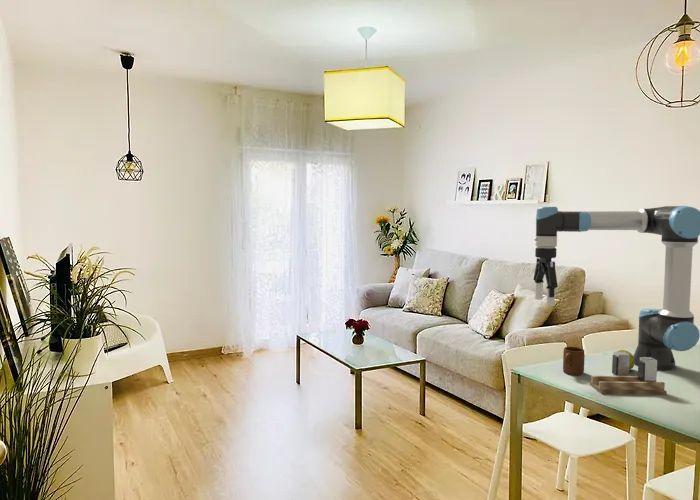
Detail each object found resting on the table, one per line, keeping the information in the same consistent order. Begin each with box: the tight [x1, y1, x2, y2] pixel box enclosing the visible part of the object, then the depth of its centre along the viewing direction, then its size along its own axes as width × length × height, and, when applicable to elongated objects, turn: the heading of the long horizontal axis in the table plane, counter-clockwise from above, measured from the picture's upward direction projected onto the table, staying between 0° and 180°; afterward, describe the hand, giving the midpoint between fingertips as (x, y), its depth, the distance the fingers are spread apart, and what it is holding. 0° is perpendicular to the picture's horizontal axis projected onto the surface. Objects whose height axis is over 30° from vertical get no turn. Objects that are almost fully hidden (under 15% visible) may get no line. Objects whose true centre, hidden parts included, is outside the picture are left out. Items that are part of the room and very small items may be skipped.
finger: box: [637, 357, 658, 382], centre depth 186 cm, size 5×4×10 cm
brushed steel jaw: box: [611, 351, 630, 376], centre depth 197 cm, size 5×4×10 cm
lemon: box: [612, 349, 635, 371], centre depth 208 cm, size 11×8×8 cm
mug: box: [562, 346, 586, 376], centre depth 203 cm, size 12×8×9 cm, turn 138°
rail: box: [589, 375, 668, 396], centre depth 186 cm, size 22×10×4 cm, turn 88°
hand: (544, 302), depth 202 cm, fingers open, 13 cm apart
